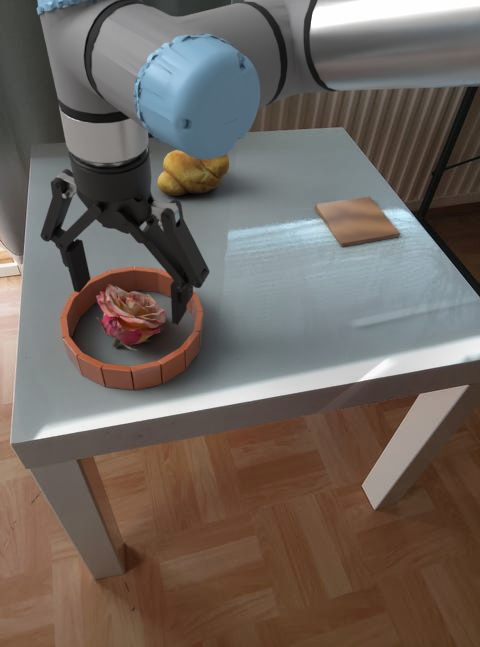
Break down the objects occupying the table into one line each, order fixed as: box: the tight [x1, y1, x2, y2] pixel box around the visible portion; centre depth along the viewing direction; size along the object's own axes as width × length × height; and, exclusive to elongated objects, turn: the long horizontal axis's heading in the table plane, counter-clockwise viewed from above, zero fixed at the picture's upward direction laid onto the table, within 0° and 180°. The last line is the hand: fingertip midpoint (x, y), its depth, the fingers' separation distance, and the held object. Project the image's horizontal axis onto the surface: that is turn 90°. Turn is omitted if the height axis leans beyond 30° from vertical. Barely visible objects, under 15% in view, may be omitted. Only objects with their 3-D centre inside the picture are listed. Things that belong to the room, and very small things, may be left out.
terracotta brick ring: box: [59, 265, 204, 391], centre depth 67 cm, size 18×18×4 cm
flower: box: [96, 284, 167, 351], centre depth 66 cm, size 10×9×8 cm
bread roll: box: [157, 149, 230, 197], centre depth 89 cm, size 13×10×8 cm
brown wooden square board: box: [314, 196, 401, 248], centre depth 88 cm, size 11×11×1 cm
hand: (130, 300), depth 64 cm, fingers open, 13 cm apart
